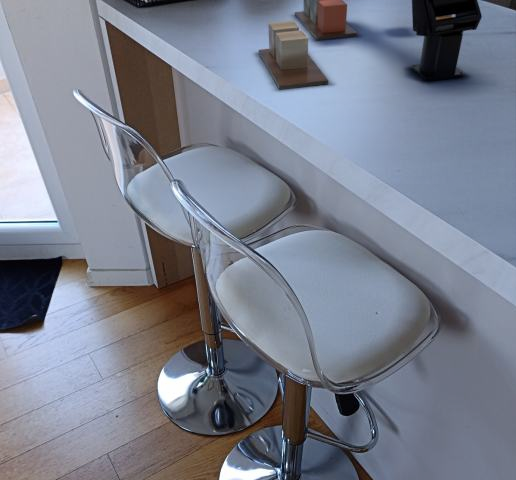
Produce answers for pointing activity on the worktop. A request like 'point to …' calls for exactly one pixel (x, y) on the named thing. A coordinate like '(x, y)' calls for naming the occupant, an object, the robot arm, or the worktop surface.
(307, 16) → the dark wooden base plate
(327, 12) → the letter block
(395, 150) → the worktop surface
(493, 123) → the worktop surface
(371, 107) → the worktop surface
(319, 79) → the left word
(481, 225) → the worktop surface
